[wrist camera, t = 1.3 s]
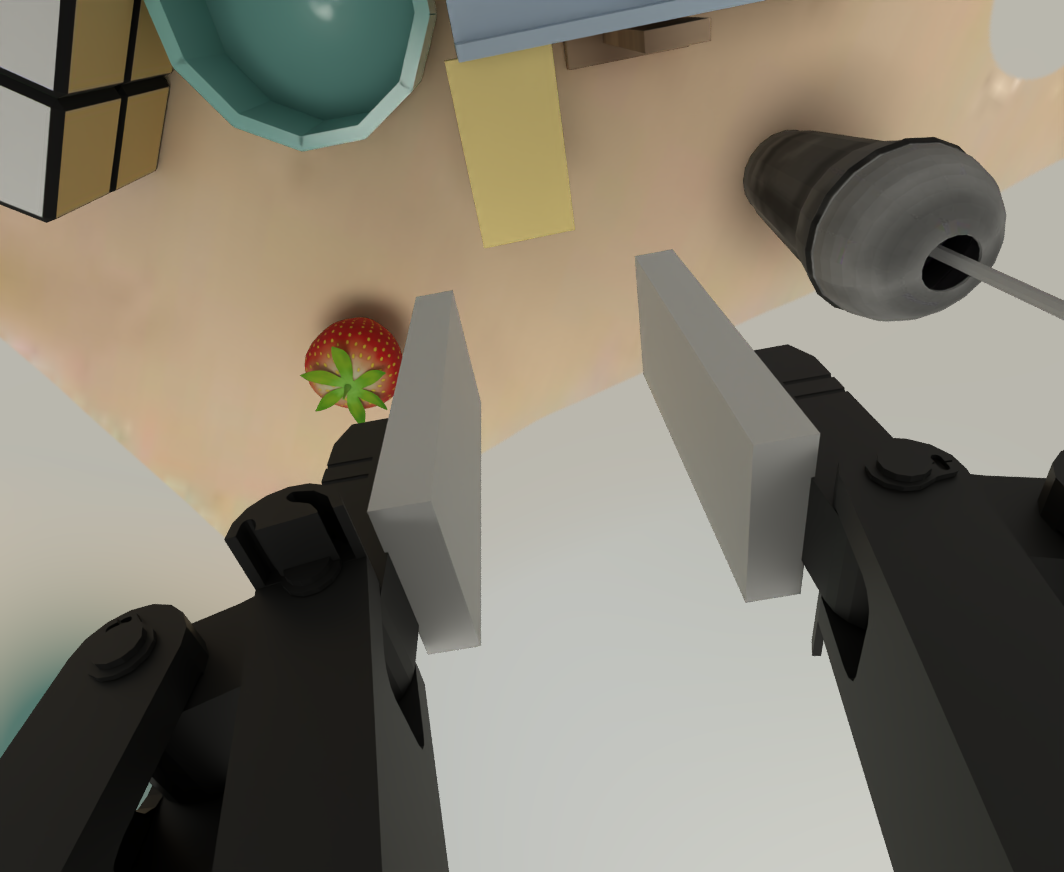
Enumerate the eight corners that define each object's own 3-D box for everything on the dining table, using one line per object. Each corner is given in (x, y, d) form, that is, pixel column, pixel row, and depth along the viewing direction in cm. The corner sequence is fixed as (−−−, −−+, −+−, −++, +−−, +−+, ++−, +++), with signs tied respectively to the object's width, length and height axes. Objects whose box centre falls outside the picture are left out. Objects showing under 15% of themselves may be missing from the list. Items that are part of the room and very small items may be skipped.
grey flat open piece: (945, -264, 20) (1015, -303, 18) (882, 160, 27) (925, 174, 25) (398, -154, 20) (393, -178, 18) (483, 242, 27) (487, 264, 25)
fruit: (403, 293, 38) (387, 352, 31) (414, 368, 41) (401, 436, 34) (314, 297, 38) (278, 358, 31) (331, 372, 41) (303, 442, 34)
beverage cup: (742, 92, 33) (1004, 173, 16) (868, 110, 34) (1236, 204, 17) (703, 230, 37) (883, 407, 20) (817, 243, 38) (1076, 422, 21)
